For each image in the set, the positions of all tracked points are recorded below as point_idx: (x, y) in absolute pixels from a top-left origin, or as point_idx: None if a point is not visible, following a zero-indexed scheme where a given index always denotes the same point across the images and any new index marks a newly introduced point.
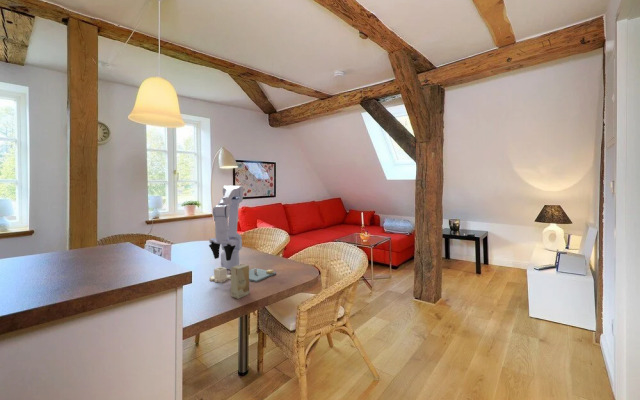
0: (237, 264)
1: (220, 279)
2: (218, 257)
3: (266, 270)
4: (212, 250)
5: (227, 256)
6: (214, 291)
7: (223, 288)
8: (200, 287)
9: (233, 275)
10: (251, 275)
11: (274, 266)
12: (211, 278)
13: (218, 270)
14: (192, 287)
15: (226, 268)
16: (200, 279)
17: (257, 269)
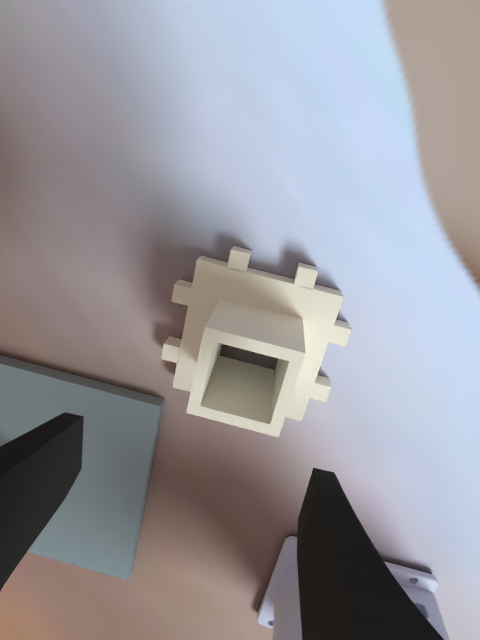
0: (275, 611)
1: (205, 280)
2: (300, 520)
3: None
4: (386, 592)
5: (4, 444)
6: (86, 12)
7: (65, 121)
8: (297, 66)
9: None
10: None
11: (50, 635)
12: (309, 282)
13: (230, 331)
14: (385, 34)
15: (187, 410)
16: (442, 279)
17: (87, 557)
